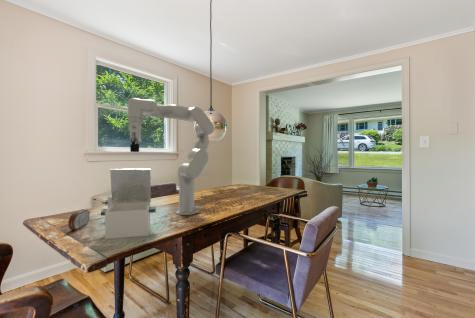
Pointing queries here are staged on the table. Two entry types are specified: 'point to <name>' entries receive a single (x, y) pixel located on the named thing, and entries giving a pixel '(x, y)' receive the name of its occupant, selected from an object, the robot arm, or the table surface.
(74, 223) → the tin
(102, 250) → the table surface
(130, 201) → the lid
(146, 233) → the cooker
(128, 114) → the robot arm
